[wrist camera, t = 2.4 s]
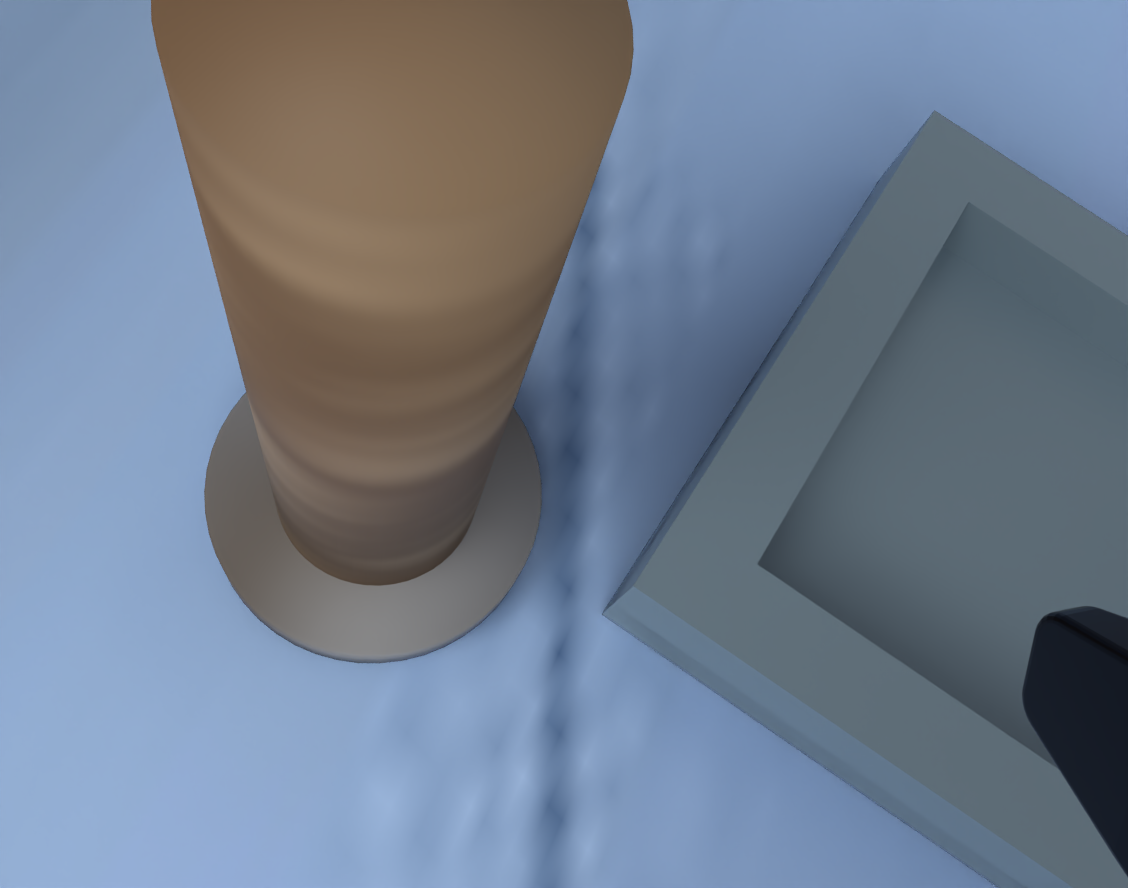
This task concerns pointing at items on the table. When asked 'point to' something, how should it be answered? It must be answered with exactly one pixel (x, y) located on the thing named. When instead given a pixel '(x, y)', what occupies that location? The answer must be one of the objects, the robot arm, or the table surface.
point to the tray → (919, 507)
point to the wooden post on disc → (385, 289)
